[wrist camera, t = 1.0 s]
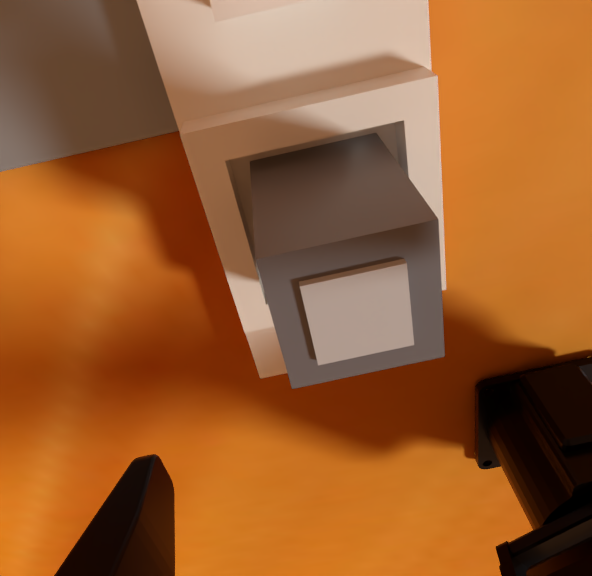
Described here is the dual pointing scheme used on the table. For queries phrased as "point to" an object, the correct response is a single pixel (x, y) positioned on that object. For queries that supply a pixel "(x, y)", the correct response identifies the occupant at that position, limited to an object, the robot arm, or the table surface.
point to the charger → (346, 260)
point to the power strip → (291, 108)
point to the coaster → (76, 79)
